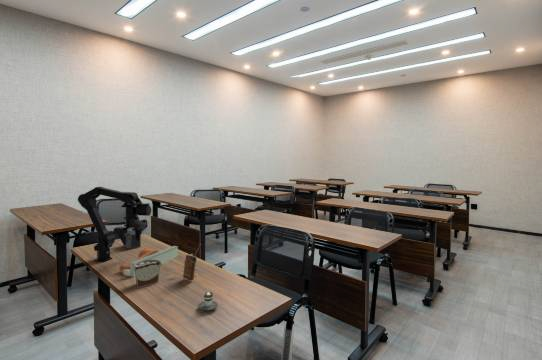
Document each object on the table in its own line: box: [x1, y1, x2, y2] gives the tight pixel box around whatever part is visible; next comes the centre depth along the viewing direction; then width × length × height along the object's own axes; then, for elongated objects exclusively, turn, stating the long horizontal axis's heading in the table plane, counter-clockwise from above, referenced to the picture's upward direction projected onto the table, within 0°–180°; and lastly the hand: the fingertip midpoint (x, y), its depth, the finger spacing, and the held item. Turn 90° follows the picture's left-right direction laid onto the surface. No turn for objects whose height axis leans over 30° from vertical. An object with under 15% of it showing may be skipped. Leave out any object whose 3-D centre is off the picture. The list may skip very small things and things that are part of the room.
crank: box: [119, 247, 160, 274], centre depth 153 cm, size 20×8×8 cm, turn 153°
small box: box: [123, 230, 142, 250], centre depth 185 cm, size 11×6×10 cm, turn 52°
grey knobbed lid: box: [197, 291, 219, 311], centre depth 115 cm, size 12×12×5 cm
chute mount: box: [123, 245, 179, 278], centre depth 156 cm, size 7×32×7 cm, turn 159°
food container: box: [133, 259, 162, 289], centre depth 133 cm, size 12×6×10 cm, turn 135°
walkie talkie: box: [166, 243, 202, 281], centre depth 138 cm, size 13×13×18 cm
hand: (131, 242), depth 161 cm, fingers open, 9 cm apart
